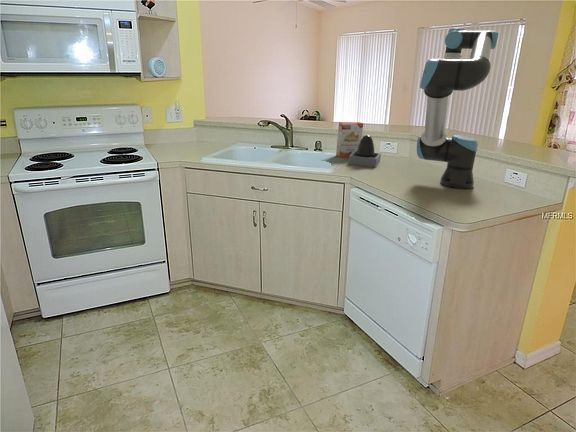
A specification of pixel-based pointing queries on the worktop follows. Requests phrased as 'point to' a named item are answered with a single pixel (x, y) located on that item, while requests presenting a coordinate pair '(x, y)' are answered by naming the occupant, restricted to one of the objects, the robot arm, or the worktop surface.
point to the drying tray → (364, 160)
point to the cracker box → (348, 138)
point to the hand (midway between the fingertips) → (443, 106)
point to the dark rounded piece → (366, 147)
